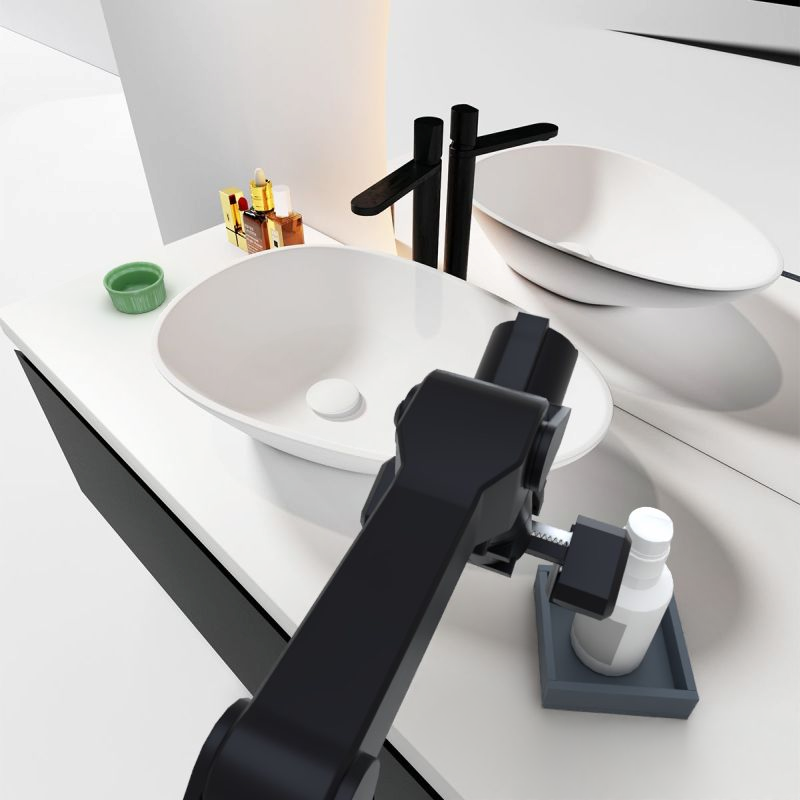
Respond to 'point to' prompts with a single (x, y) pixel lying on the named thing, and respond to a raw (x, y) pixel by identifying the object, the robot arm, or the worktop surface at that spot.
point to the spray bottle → (631, 601)
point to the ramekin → (136, 286)
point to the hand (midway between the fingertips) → (495, 562)
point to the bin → (627, 694)
